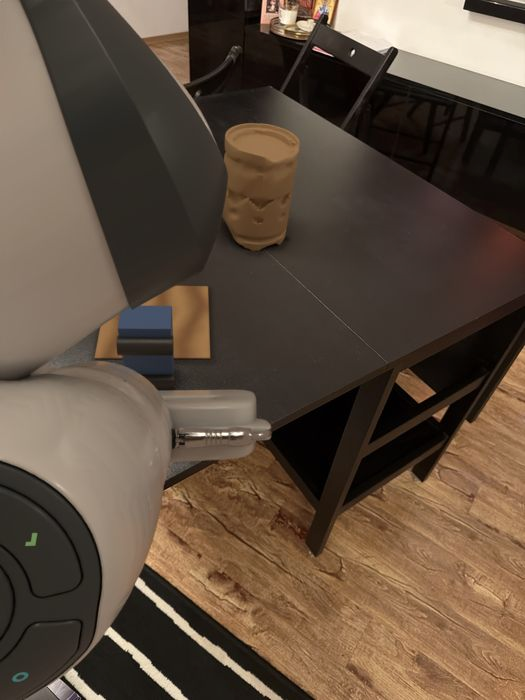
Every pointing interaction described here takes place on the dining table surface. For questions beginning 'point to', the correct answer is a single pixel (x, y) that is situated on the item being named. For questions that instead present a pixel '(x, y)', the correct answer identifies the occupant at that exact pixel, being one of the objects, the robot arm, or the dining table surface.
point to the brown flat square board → (187, 324)
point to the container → (259, 183)
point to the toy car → (148, 344)
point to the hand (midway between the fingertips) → (126, 405)
